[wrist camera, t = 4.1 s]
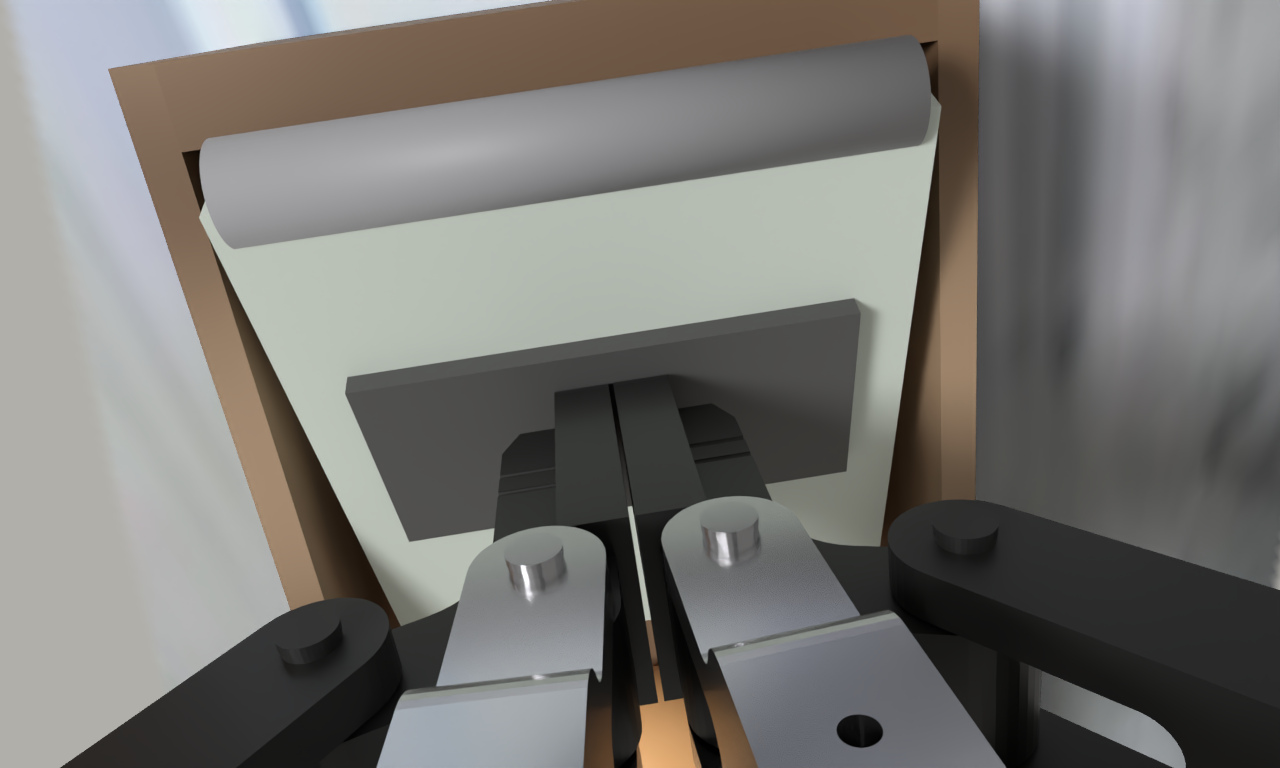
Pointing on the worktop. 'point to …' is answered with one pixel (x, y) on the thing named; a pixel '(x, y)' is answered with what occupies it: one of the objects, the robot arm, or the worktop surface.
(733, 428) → the robot arm
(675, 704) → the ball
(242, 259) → the flap
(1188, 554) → the worktop surface
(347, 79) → the bin
